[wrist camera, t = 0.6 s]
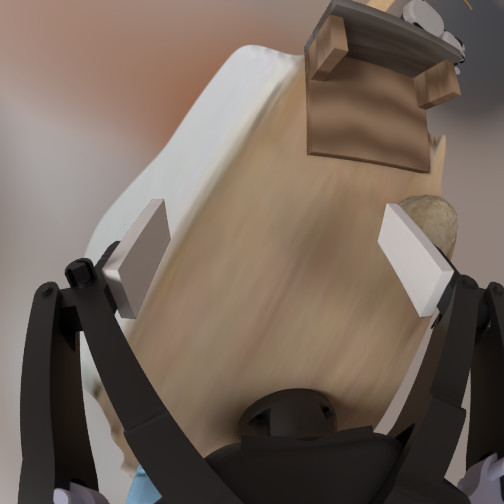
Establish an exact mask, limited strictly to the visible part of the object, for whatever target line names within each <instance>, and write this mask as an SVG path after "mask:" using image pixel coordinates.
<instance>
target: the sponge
mask: <svg viewBox="0 0 504 504" xmlns="http://www.w3.org/2000/svg"><path fill="white" fill-rule="evenodd" d="M399 206H400V207H401V208H402V209H403V211H404V212H405V213H406V214H407V215H408V216H409V217H410V218H411V219H412V220H413V222H414V223H415V224H416V225H417V226H418V227H419V228H420V229H421V231H422V232H423V233H424V234H425V235H426V236H427V238H428V239H429V240H430V241H431V242H432V244H434V245H436V246H437V247H438V248H440V249H441V250H442V252H443V253H444V254H445V256H447V255H448V252H449V250H450V249H451V246H452V245H453V242H455V236H456V232H457V227H458V226H457V214H456V212H455V210H454V208H453V207H452V206H451V205H450V204H449V203H448V202H447V201H446V200H444V199H443V198H440V197H436V196H428V195H424V196H418V197H410V198H406V199H405V200H404V201H402V202H401V203H400V204H399Z"/></svg>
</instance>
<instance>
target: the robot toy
mask: <svg viewBox="0 0 504 504" xmlns="http://www.w3.org/2000/svg"><path fill="white" fill-rule="evenodd" d="M403 17H404V20H405V21H407V22H409V23H411V24H413V25H415V26H417V27H419V28H421V29H423V30H425V31H427V32H429V33H431V34H433V35H435V36H437V37H438V38H440V39H442V40H444V41H446V42H447V43H449V44H451V45H452V46H454V47H456V48H457V49H459V50H460V52H461V55H462V58H463V59H462V60H460V61H458V62H459V63H463V62H464V56H465V54H464V52H463V51H465V47H464V45H463V44H462V42H461V41H460V40H459V39H458V38H456V37H454V36H453V35H451V34H450V33H449V32H447V31H446V30H444V25H443V21H442V19H441V17H440V15H439V14H438V13H437V12H436V11H435V10H434V9H433V8H432V7H431V6H430V5H429V4H427V3H426V2H425V1H424V0H412V1H411V2H409V3H408V4H407V5H405V6H404V10H403ZM456 65H458V63H457V62H456V63H454V68H455V71H456V75H458V74H460V71H459V69H458V68H457V67H456Z"/></svg>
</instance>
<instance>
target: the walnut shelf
mask: <svg viewBox="0 0 504 504" xmlns="http://www.w3.org/2000/svg"><path fill="white" fill-rule="evenodd" d="M304 51H305V73H306V105H307V155H314V156H323V157H331V158H339V159H346V160H353V161H360V162H366V163H372V164H378V165H384V166H389V167H394V168H399V169H404V170H409V171H414V172H418V173H427V172H430V159H429V143H428V131H427V121H426V113H425V110H426V109H428V108H431V107H433V106H436V105H438V104H441V103H444V102H446V101H449V100H451V99H454V98H456V97H459V96H461V93H460V88H459V84H458V79H457V75H456V71H455V68H454V63H456V62H458V61H460V60H462V59H463V58H462V55H461V52H460V50H459V49H457V48H456V47H454V46H452V45H451V44H449V43H447V42H446V41H444V40H442V39H440V38H438V37H437V36H435V35H433V34H431V33H429V32H427V31H425V30H423V29H421V28H419V27H417V26H415V25H413V24H411V23H409V22H407V21H405V20H402V19H400V18H398V17H395V16H393V15H390V14H388V13H386V12H383V11H380V10H378V9H375V8H372V7H369V6H367V5H364V4H361V3H358V2H354V1H351V0H332V1H331V2H330V4H329V6H328V7H327V9H326V11H325V13H324V14H323V16H322V18H321V19H320V21H319V23H318V24H317V26H316V28H315V29H314V31H313V33H312V35H311V36H310V38H309V40H308V42H307V43H306V45H305V47H304Z"/></svg>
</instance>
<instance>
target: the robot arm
mask: <svg viewBox="0 0 504 504" xmlns="http://www.w3.org/2000/svg"><path fill="white" fill-rule="evenodd" d="M170 240H171V239H170V233H169V227H168V221H167V215H166V208H165V202H164V199H152V200H151V201H150V203H149V204H148V205H147V206H146V208H145V209H144V210H143V212H142V213H141V214H140V216H139V217H138V218H137V220H136V221H135V222H134V224H133V225H132V226H131V228H130V229H129V231H128V232H127V233H126V235H125V236H124V238H123V239H122V240H121V241H115V242H114V243H113V244H111V245H110V246H109V247H108V248H107V250H106V251H105V252H104V254H103V255H102V257H101V259H100V260H99V261H98V262H97V264H96V265H95V267H94V266H93V263H92V261H91V260H90V259H88V258H81V259H77V260H75V261H73V262H71V263H70V264H69V265H68V266H67V267H66V269H65V276H66V277H67V280H68V282H69V284H70V287H71V288H66V289H61V290H60V289H59V287H58V285H57V284H56V283H55V282H47V283H44V284H42V285H41V286H40V287H39V288H38V289H37V290H36V293H35V295H34V299H33V303H32V308H31V313H30V318H29V324H28V328H27V334H26V342H25V348H24V356H23V366H22V376H21V394H20V395H21V396H20V431H21V446H22V457H23V461H22V468H21V474H20V482H19V492H18V504H109V502H108V500H107V499H106V498H105V497H104V496H103V495H102V494H101V493H99V488H98V479H97V474H96V469H95V464H94V460H93V455H92V450H91V446H90V440H89V435H88V429H87V423H86V416H85V409H84V401H83V391H82V380H81V364H80V331H84V334H85V338H86V340H87V343H88V346H89V349H90V352H91V355H92V357H93V360H94V363H95V365H96V368H97V370H98V373H99V375H100V378H101V380H102V383H103V385H104V387H105V390H106V392H107V394H108V396H109V399H110V401H111V403H112V405H113V407H114V409H115V411H116V413H117V415H118V417H119V419H120V421H121V423H122V425H123V427H124V436H125V439H126V441H127V443H128V444H129V446H130V448H131V450H132V451H133V453H134V455H135V457H136V458H137V460H138V462H139V463H140V464H139V466H138V469H137V471H136V474H135V476H134V479H133V482H132V485H131V488H130V491H129V494H128V497H127V500H126V504H504V288H503V286H502V285H500V284H499V283H496V282H490V284H489V285H488V287H487V289H483V288H479V287H478V284H477V282H476V281H475V280H474V279H472V278H471V277H469V276H467V275H460V273H459V272H458V271H457V270H456V268H455V267H454V265H453V264H452V263H451V262H450V261H449V259H448V258H447V257H446V256H445V254H444V253H443V252H442V250H441V249H440V248H438V247H437V246H436V245H434V244H432V242H431V241H430V240H429V239H428V238H427V236H426V235H425V234H424V233H423V232H422V231H421V229H420V228H419V227H418V226H417V225H416V224H415V223H414V222H413V220H412V219H411V218H410V217H409V216H408V215H407V214H406V213H405V212H404V211H403V209H402V208H401V207H400V206H399V205H398V204H391V203H387V205H386V210H385V214H384V218H383V222H382V226H381V230H380V234H379V238H378V244H379V245H380V247H381V248H382V250H383V252H384V253H385V255H386V257H387V258H388V260H389V262H390V263H391V265H392V267H393V268H394V270H395V272H396V274H397V275H398V277H399V279H400V281H401V282H402V284H403V286H404V288H405V290H406V292H407V293H408V295H409V297H410V299H411V301H412V303H413V305H414V307H415V309H416V310H417V312H418V314H419V316H420V317H426V316H432V314H433V312H434V311H435V309H436V307H437V308H438V309H439V311H440V313H439V314H438V316H437V318H436V320H435V321H434V323H433V325H432V327H431V329H432V328H433V327H434V329H433V332H432V335H431V338H430V341H429V344H428V347H427V350H426V353H425V356H424V359H423V361H422V364H421V367H420V369H419V372H418V375H417V377H416V379H415V382H414V384H413V386H412V389H411V391H410V394H409V396H408V398H407V400H406V402H405V405H404V406H403V409H402V411H401V413H400V415H399V417H398V419H397V421H396V423H395V425H394V426H393V428H392V429H391V430H390V432H389V433H388V434H387V435H384V434H380V433H374V432H373V428H372V425H371V426H366V427H360V428H354V429H348V430H342V431H339V432H337V419H336V414H335V411H334V409H333V408H332V406H331V404H330V402H329V401H328V400H327V399H326V398H325V397H324V396H323V395H321V394H319V393H317V392H315V391H311V390H305V389H291V390H284V391H280V392H276V393H273V394H270V395H268V396H265V397H263V398H262V399H260V400H258V401H257V402H255V403H254V404H252V405H251V406H250V407H249V408H248V409H247V410H246V411H245V412H244V414H243V415H242V417H241V419H240V422H239V438H240V442H238V443H233V444H230V445H227V446H224V447H222V448H220V449H218V450H216V451H214V452H212V453H211V454H210V455H208V456H207V457H205V458H204V459H203V457H202V456H201V455H200V454H199V452H198V451H197V450H196V449H195V447H194V446H193V445H192V443H191V442H190V441H189V439H188V438H187V437H186V435H185V434H184V433H183V431H182V430H181V429H180V427H179V426H178V424H177V423H176V422H175V420H174V419H173V417H172V416H171V414H170V413H169V411H168V410H167V408H166V407H165V405H164V404H163V402H162V401H161V399H160V398H159V396H158V395H157V393H156V391H155V390H154V388H153V387H152V385H151V383H150V382H149V380H148V378H147V377H146V375H145V373H144V371H143V370H142V368H141V366H140V364H139V363H138V361H137V359H136V357H135V355H134V354H133V352H132V350H131V348H130V346H129V344H128V342H127V340H126V338H125V336H124V334H123V332H122V330H121V328H120V326H119V324H118V322H117V320H116V318H115V316H114V315H115V313H116V310H117V309H118V312H119V314H120V316H121V318H129V319H136V318H137V315H138V313H139V310H140V308H141V305H142V303H143V300H144V298H145V296H146V293H147V291H148V289H149V286H150V284H151V282H152V279H153V277H154V275H155V273H156V270H157V268H158V266H159V264H160V261H161V259H162V257H163V255H164V253H165V251H166V248H167V246H168V244H169V242H170ZM489 325H490V327H489ZM470 369H471V370H470ZM469 371H471V404H470V422H469V435H468V443H467V454H466V473H465V476H464V478H462V479H460V481H459V482H458V485H457V487H455V486H454V485H453V484H452V483H450V482H449V481H448V480H446V479H445V478H444V476H445V474H446V472H447V469H448V467H449V464H450V462H451V459H452V457H453V454H454V451H455V449H456V446H457V443H458V440H459V438H460V434H461V431H462V428H463V425H464V422H465V418H466V410H465V409H463V408H461V404H462V400H463V397H464V393H465V389H466V384H467V380H468V376H469Z"/></svg>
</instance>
